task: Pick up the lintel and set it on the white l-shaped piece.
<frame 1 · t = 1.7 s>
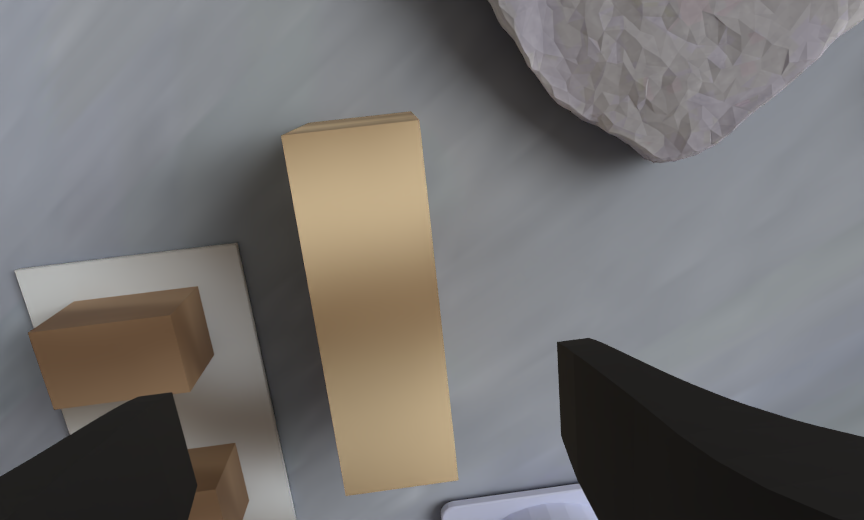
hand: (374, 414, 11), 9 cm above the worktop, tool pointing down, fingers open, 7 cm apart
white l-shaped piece: (169, 404, 20), on the worktop
lintel: (380, 267, 20), on the worktop
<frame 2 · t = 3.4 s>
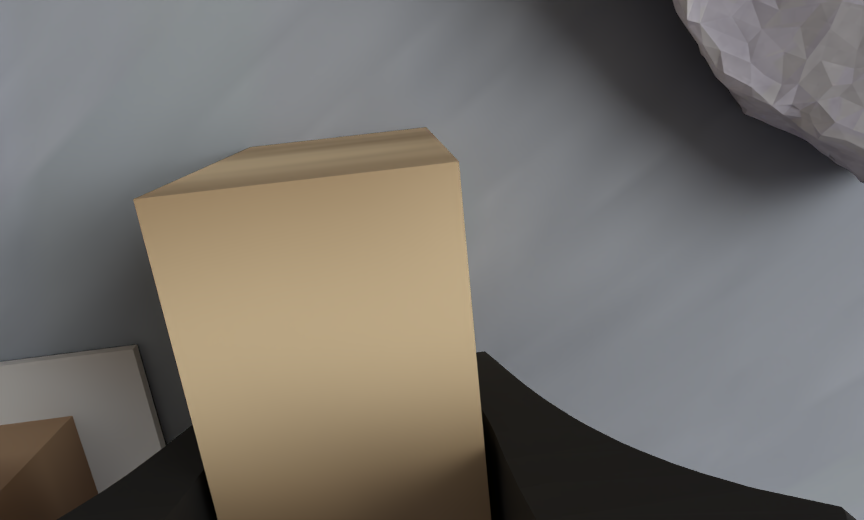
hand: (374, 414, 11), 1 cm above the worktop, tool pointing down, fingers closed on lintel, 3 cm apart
lintel: (375, 381, 12), on the worktop, touching gripper
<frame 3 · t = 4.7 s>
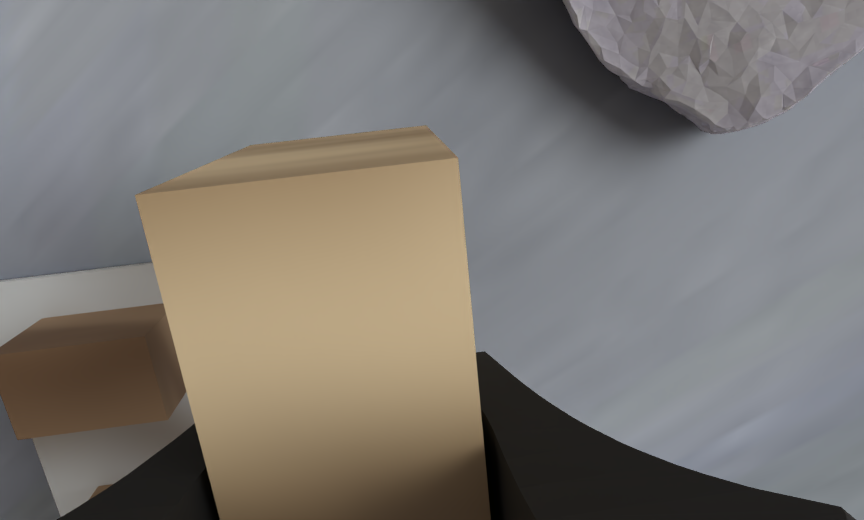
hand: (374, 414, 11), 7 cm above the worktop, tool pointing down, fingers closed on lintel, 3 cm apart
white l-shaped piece: (149, 428, 19), on the worktop
lintel: (375, 378, 12), point 6 cm above the worktop, touching gripper
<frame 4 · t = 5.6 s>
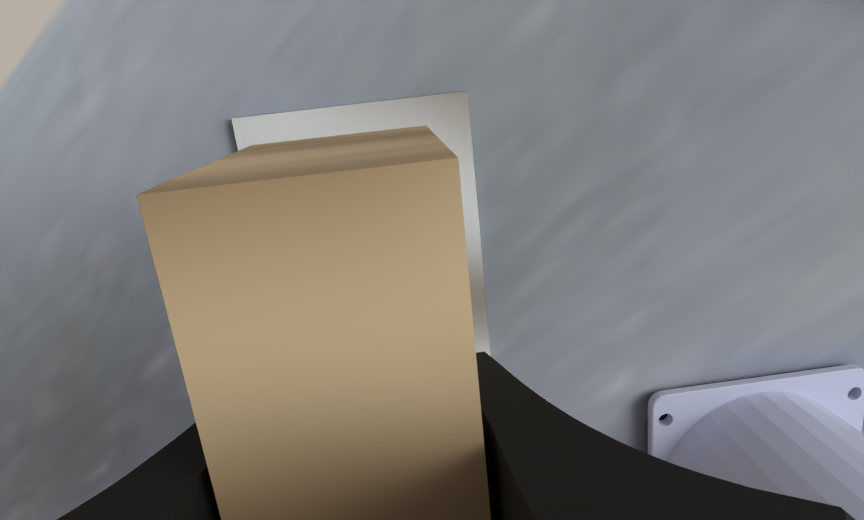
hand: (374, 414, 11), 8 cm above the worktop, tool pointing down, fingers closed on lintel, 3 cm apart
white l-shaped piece: (376, 277, 19), on the worktop
lintel: (375, 378, 12), point 7 cm above the worktop, touching gripper
when the fingers open (5 cm above the worktop, at t = 7.0 s): lintel stays where it is, resting on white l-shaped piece.
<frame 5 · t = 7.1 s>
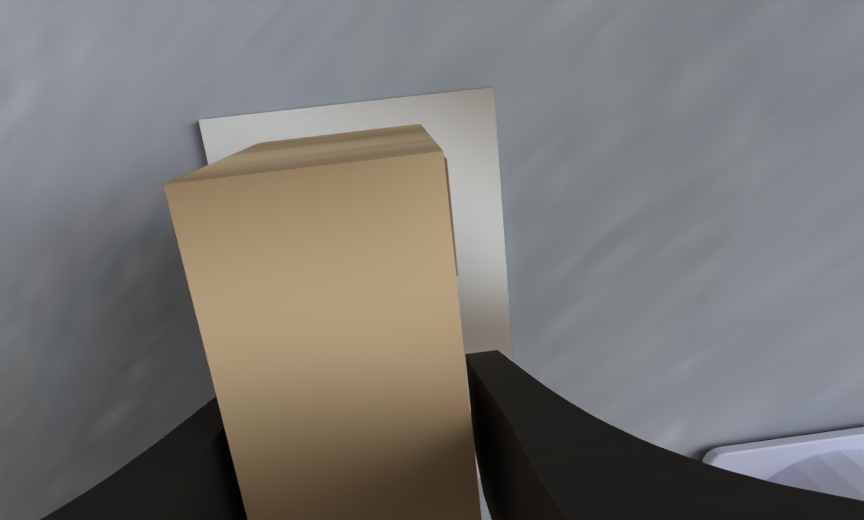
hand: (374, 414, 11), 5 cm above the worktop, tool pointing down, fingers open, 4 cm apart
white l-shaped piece: (378, 314, 15), on the worktop
lintel: (375, 360, 13), point 3 cm above the worktop, touching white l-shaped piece
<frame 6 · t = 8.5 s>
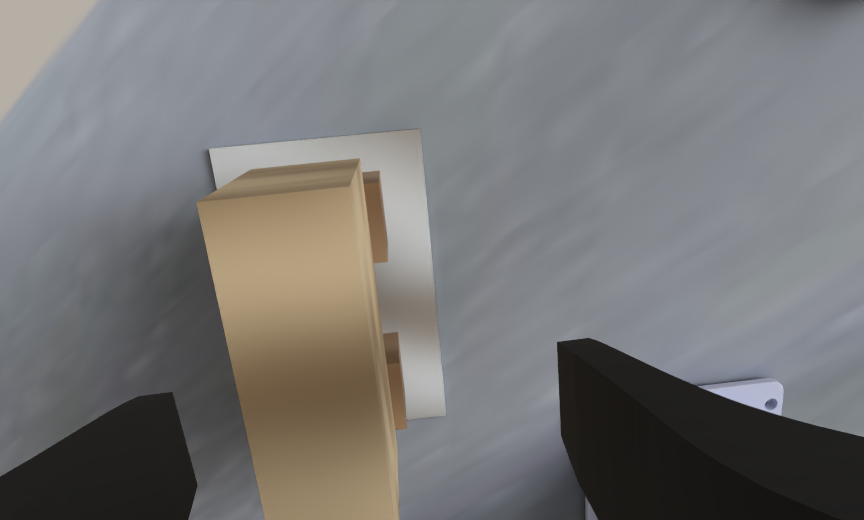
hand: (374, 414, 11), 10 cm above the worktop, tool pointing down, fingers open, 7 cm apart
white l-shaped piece: (338, 291, 21), on the worktop
lintel: (330, 320, 18), point 3 cm above the worktop, touching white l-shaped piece
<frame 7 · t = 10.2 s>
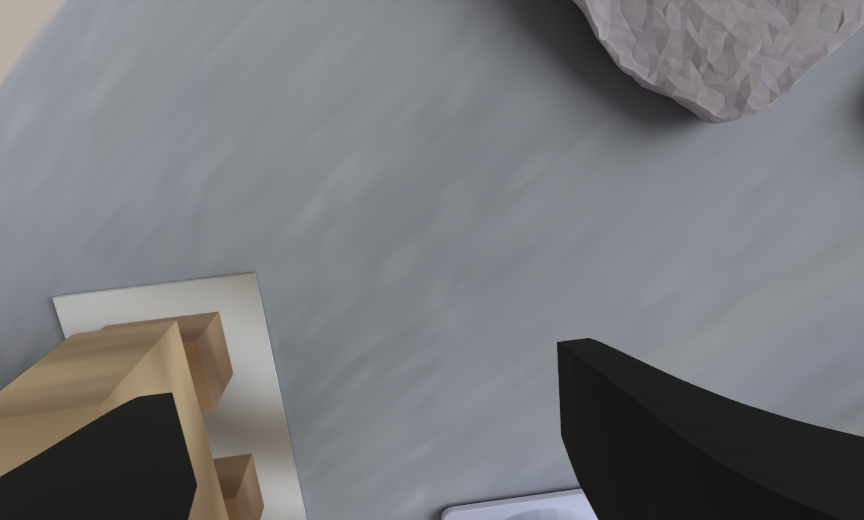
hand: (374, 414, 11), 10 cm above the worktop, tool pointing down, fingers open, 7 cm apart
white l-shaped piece: (191, 418, 22), on the worktop
lintel: (164, 462, 19), point 3 cm above the worktop, touching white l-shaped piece
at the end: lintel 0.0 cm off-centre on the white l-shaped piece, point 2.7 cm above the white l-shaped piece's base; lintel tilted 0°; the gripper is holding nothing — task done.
